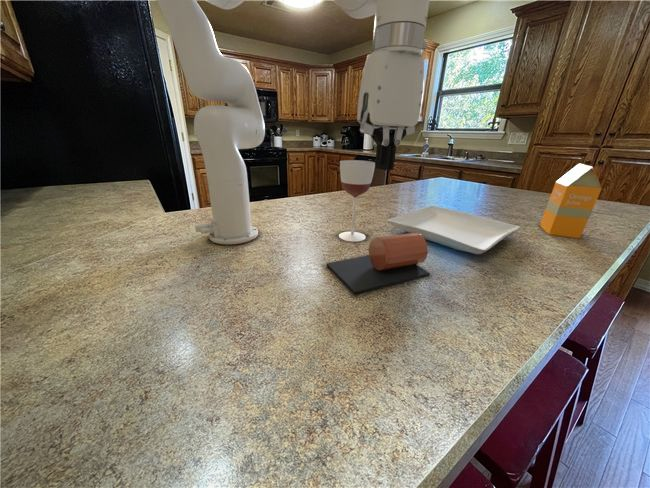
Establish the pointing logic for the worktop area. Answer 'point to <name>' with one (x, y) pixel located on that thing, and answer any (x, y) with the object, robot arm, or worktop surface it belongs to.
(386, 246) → the cup
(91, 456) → the worktop surface
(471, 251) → the square plate
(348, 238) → the wineglass
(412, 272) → the mat
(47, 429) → the worktop surface
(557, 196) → the orange juice
